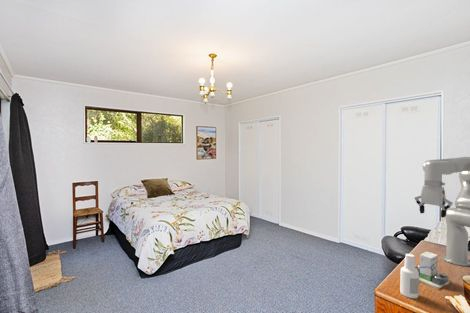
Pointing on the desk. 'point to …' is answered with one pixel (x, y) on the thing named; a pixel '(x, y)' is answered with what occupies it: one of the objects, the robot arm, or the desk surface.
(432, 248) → the desk surface
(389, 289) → the desk surface
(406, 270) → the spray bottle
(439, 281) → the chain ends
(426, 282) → the jig board
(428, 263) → the ink box
